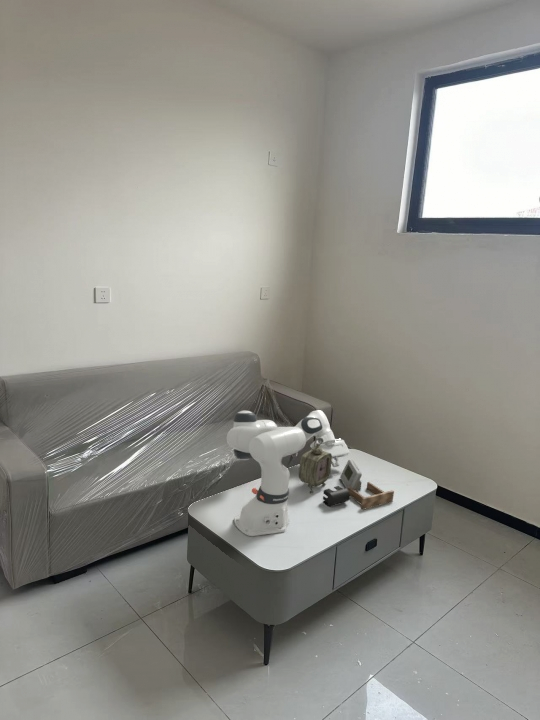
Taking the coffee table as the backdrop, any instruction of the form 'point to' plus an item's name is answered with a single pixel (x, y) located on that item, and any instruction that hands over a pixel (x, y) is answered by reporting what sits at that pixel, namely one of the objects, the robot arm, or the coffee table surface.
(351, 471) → the digital clock
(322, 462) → the tabletop clock
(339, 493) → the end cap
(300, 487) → the coffee table surface
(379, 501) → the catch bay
